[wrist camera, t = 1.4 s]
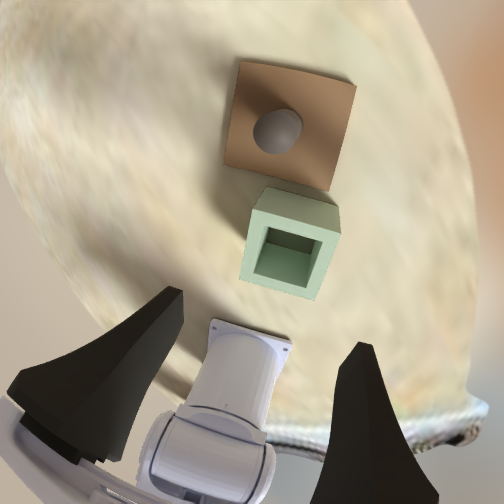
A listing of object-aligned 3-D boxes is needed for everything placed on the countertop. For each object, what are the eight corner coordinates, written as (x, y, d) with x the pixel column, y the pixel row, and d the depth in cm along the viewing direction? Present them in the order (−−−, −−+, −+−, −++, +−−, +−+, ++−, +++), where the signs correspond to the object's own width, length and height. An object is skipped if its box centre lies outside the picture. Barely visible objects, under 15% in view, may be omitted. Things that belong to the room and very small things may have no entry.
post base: (328, 188, 18) (328, 220, 14) (226, 162, 19) (195, 185, 14) (355, 86, 14) (368, 82, 10) (243, 62, 15) (213, 51, 11)
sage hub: (317, 266, 21) (314, 301, 18) (253, 248, 22) (238, 279, 18) (338, 206, 18) (340, 233, 15) (266, 186, 19) (252, 208, 16)
